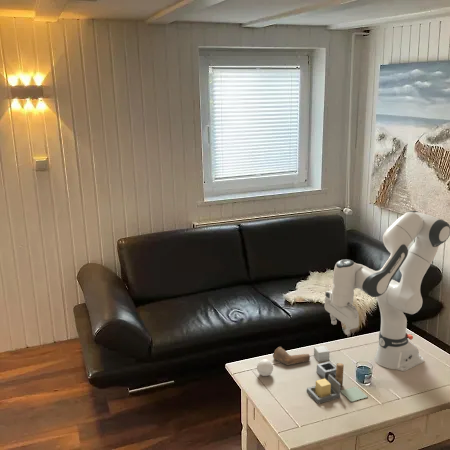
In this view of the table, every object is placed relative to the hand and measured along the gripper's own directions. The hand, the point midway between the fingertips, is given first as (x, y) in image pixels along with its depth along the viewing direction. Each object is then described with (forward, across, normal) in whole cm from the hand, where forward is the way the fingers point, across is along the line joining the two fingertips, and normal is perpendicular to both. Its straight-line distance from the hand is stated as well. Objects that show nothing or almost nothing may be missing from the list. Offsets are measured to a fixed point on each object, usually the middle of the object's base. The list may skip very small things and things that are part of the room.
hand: (340, 328), depth 217 cm
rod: (+26, -2, 0) cm, 26 cm away
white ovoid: (+27, +18, +27) cm, 42 cm away
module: (+27, -5, +10) cm, 29 cm away
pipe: (+27, +24, +9) cm, 37 cm away
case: (+26, -5, +10) cm, 29 cm away
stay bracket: (+26, +7, 0) cm, 27 cm away
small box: (+26, +20, -5) cm, 34 cm away
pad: (+26, -10, -2) cm, 28 cm away
